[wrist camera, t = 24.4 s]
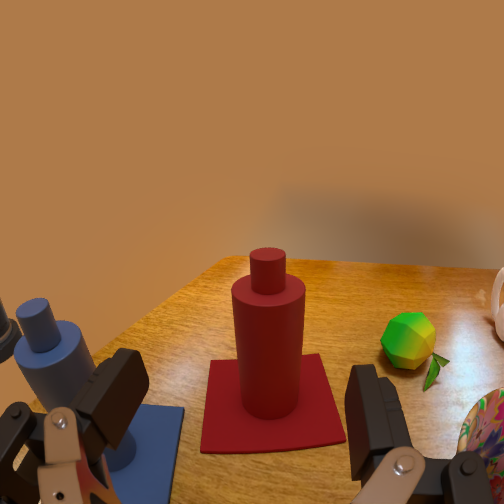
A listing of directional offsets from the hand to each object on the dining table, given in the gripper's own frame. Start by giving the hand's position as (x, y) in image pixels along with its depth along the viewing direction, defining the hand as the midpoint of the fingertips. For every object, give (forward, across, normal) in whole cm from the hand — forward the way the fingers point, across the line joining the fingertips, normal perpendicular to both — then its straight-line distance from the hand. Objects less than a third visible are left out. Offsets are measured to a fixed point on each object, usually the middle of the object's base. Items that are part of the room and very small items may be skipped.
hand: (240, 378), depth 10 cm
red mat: (+11, 0, +14) cm, 18 cm away
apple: (+15, -16, +14) cm, 26 cm away
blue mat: (+2, +13, +14) cm, 19 cm away
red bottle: (+10, 0, +14) cm, 17 cm away
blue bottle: (+2, +13, +14) cm, 19 cm away
